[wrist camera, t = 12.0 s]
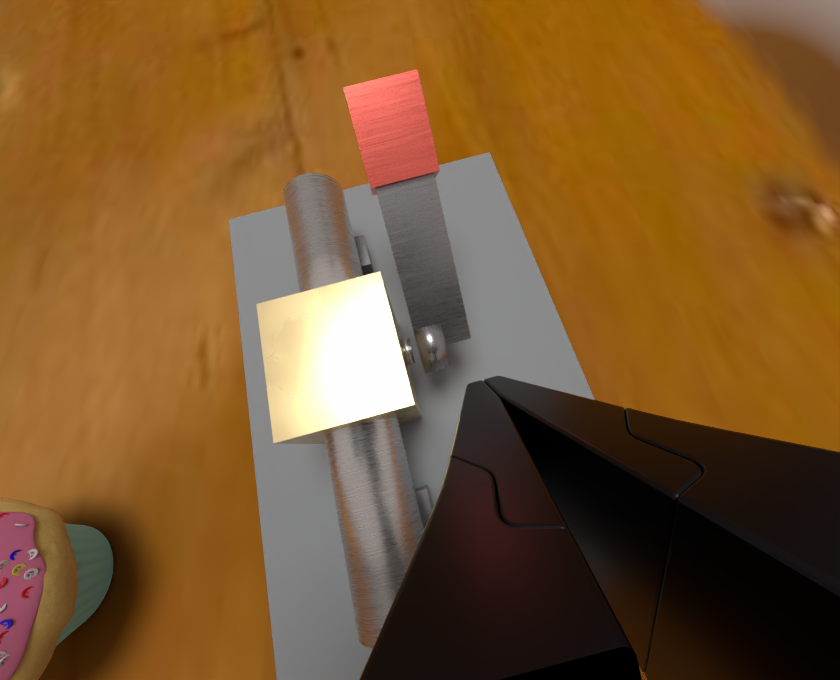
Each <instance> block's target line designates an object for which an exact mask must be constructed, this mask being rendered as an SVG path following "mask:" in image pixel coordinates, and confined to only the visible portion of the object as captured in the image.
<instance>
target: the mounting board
mask: <svg viewBox="0 0 840 680" xmlns="http://www.w3.org/2000/svg"><path fill="white" fill-rule="evenodd" d="M439 169H440V171H439V173H438V174H437V176H436V178H435V179H436V183H437V188H438V192H439V197H440V201H441V206H442V210H443V215H444V219H445V223H446V228H447V232H448V237H449V241H450V246H451V250H452V255H453V259H454V264H455V268H456V273H457V277H458V282H459V286H460V291H461V295H462V299H463V304H464V308H465V313H466V317H467V322H468V326H469V331H470V335H471V338H470V339H466V340H463V341H459V342H455V343H451V344H448V345H447V348H448V352H449V357H450V363H451V367H448V368H445V369H441V370H437V371H434V372H430V373H426V374H425V372H424V368H423V365H422V361H421V358H420V354H419V350H418V347H417V343H416V339H415V335H414V331H413V328H412V324H411V320H410V316H409V312H408V309H407V305H406V301H405V297H404V294H403V290H402V286H401V282H400V279H399V275H398V271H397V267H396V264H395V260H394V256H393V252H392V249H391V245H390V241H389V237H388V234H387V230H386V226H385V222H384V219H383V215H382V211H381V207H380V204H379V200H378V196H377V195H372V192H371V188H370V184H369V183H368V184H364V185H361V186H357V187H353V188H349V189H345V190H343V192H344V197H345V201H346V205H347V209H348V213H349V218H350V222H351V226H352V230H353V234H354V237H356V236H360V235H364V238H365V241H366V243H367V246H368V249H369V252H370V256H371V260H372V264H373V268H374V272H375V273H376V272H379V271H380V272H381V275H382V278H383V281H384V284H385V286H386V289H387V292H388V295H389V298H390V301H391V304H392V307H393V310H394V313H395V316H396V319H397V322H398V326H399V330H400V334H401V337H402V340H403V339H407V338H409V341H410V344H411V348H412V352H413V355H414V359H415V363H414V364H410V365H409V368H410V372H411V376H412V379H413V383H414V387H415V391H416V395H417V399H418V402H419V406H420V410H421V414H422V418H419V419H415V420H411V421H408V422H404V423H401V424H399V427H400V432H401V436H402V440H403V444H404V448H405V453H406V457H407V461H408V465H409V469H410V473H411V478H412V482H413V486H414V488H418V487H421V486H425V485H428V487H429V491H430V495H431V499H432V503H433V507H434V505H435V502H436V500H437V497H438V494H439V492H440V489H441V486H442V482H443V479H444V476H445V472H446V468H447V464H448V460H449V458H450V454H451V450H452V445H453V441H454V437H455V433H456V429H457V425H458V420H459V416H460V412H461V408H462V404H463V399H464V395H465V391H466V387H467V385H468V384H469V383H472V382H476V381H480V380H482V381H484V380H485V379H487V378H490V377H494V376H503V377H507V378H510V379H514V380H518V381H522V382H526V383H530V384H534V385H538V386H542V387H546V388H550V389H554V390H557V391H561V392H565V393H569V394H573V395H577V396H581V397H585V398H589V399H593V400H594V397H593V395H592V392H591V390H590V388H589V385H588V383H587V381H586V378H585V376H584V374H583V371H582V369H581V367H580V364H579V362H578V360H577V357H576V355H575V352H574V350H573V348H572V345H571V343H570V341H569V338H568V336H567V334H566V331H565V329H564V327H563V324H562V322H561V320H560V317H559V315H558V312H557V310H556V308H555V305H554V303H553V301H552V298H551V296H550V294H549V291H548V289H547V287H546V284H545V282H544V280H543V277H542V275H541V272H540V270H539V268H538V265H537V263H536V261H535V258H534V256H533V254H532V251H531V249H530V247H529V244H528V242H527V240H526V237H525V235H524V232H523V230H522V228H521V225H520V223H519V221H518V218H517V216H516V214H515V211H514V209H513V207H512V204H511V202H510V200H509V197H508V195H507V192H506V190H505V188H504V185H503V183H502V181H501V178H500V176H499V174H498V171H497V169H496V167H495V164H494V162H493V160H492V157H491V155H490V152H489V153H485V154H481V155H477V156H473V157H469V158H465V159H461V160H458V161H454V162H450V163H446V164H442V165H439ZM229 225H230V234H231V244H232V254H233V263H234V273H235V282H236V292H237V302H238V311H239V321H240V330H241V340H242V350H243V359H244V369H245V379H246V388H247V398H248V407H249V417H250V427H251V436H252V446H253V455H254V465H255V475H256V484H257V494H258V503H259V513H260V523H261V532H262V542H263V551H264V561H265V571H266V580H267V590H268V600H269V609H270V619H271V628H272V638H273V648H274V657H275V667H276V676H277V680H359V679H360V677H361V674H362V672H363V670H364V667H365V665H366V663H367V660H368V658H369V656H370V654H371V651H372V649H373V648H368V647H365V646H363V645H361V644H360V642H359V640H358V634H357V628H356V623H355V617H354V611H353V605H352V599H351V593H350V587H349V581H348V575H347V569H346V563H345V557H344V551H343V546H342V540H341V534H340V528H339V522H338V516H337V510H336V504H335V498H334V492H333V486H332V480H331V475H330V469H329V463H328V457H327V451H326V445H325V444H280V443H273V435H272V427H271V419H270V411H269V402H268V394H267V386H266V378H265V370H264V362H263V354H262V346H261V337H260V329H259V321H258V313H257V305H256V304H259V303H262V302H266V301H270V300H274V299H277V298H281V297H285V296H289V295H293V294H296V293H300V291H299V285H298V279H297V273H296V267H295V261H294V256H293V250H292V244H291V238H290V232H289V226H288V220H287V214H286V208H285V205H283V206H279V207H275V208H271V209H267V210H264V211H260V212H256V213H252V214H248V215H244V216H240V217H236V218H233V219H229Z"/></svg>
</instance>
